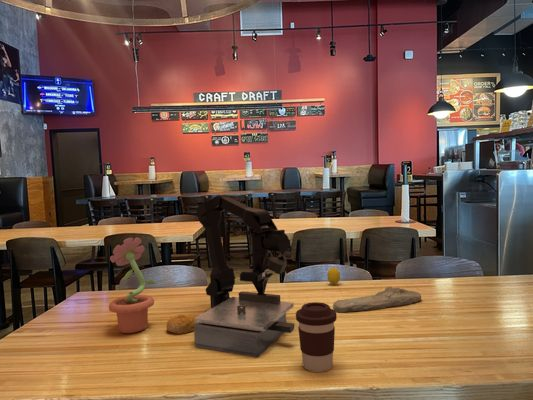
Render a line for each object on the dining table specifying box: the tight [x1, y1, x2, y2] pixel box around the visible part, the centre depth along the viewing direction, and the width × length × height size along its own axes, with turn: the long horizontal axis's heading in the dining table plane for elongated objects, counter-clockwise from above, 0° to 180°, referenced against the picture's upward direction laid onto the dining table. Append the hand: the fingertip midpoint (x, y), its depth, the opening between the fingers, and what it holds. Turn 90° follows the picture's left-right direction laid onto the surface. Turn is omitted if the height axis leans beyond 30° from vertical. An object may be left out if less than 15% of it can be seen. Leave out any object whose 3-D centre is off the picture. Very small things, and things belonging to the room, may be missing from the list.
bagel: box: [166, 314, 198, 335], centre depth 126 cm, size 10×11×5 cm
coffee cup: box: [295, 301, 338, 373], centre depth 97 cm, size 10×10×15 cm
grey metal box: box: [193, 312, 295, 358], centre depth 115 cm, size 26×20×6 cm
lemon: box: [326, 266, 341, 286], centre depth 170 cm, size 6×6×8 cm
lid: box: [195, 290, 294, 332], centre depth 118 cm, size 22×22×4 cm
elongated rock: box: [332, 285, 422, 314], centre depth 141 cm, size 35×5×10 cm
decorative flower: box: [108, 237, 157, 334], centre depth 126 cm, size 15×14×30 cm
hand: (261, 296), depth 128 cm, fingers closed
